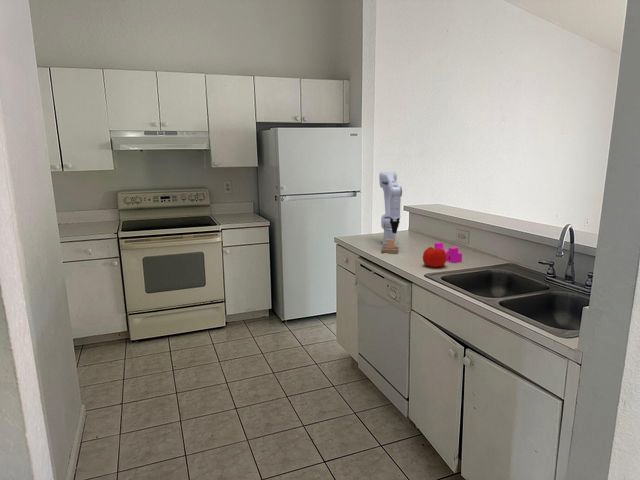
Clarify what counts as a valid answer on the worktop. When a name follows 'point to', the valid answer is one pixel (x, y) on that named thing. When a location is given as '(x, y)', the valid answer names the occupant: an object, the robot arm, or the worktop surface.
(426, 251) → the tomato
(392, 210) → the robot arm
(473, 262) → the worktop surface
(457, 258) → the toy block
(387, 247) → the terracotta block
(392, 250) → the walnut block
